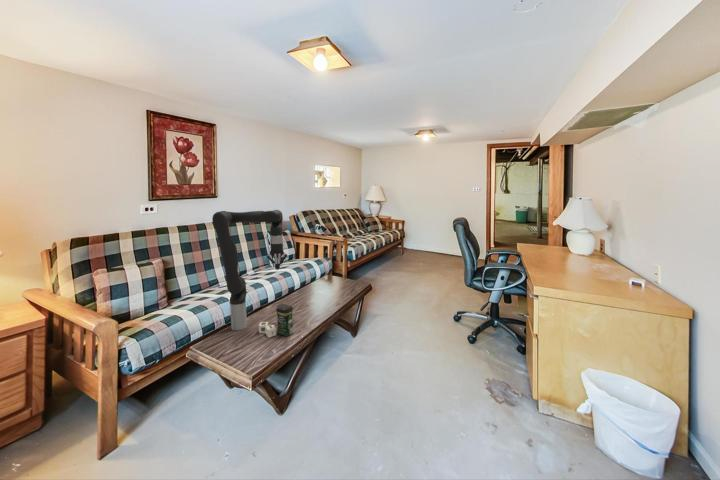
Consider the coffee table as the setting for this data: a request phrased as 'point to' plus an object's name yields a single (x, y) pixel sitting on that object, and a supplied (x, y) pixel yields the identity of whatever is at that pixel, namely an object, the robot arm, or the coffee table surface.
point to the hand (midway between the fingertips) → (277, 269)
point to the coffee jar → (284, 319)
